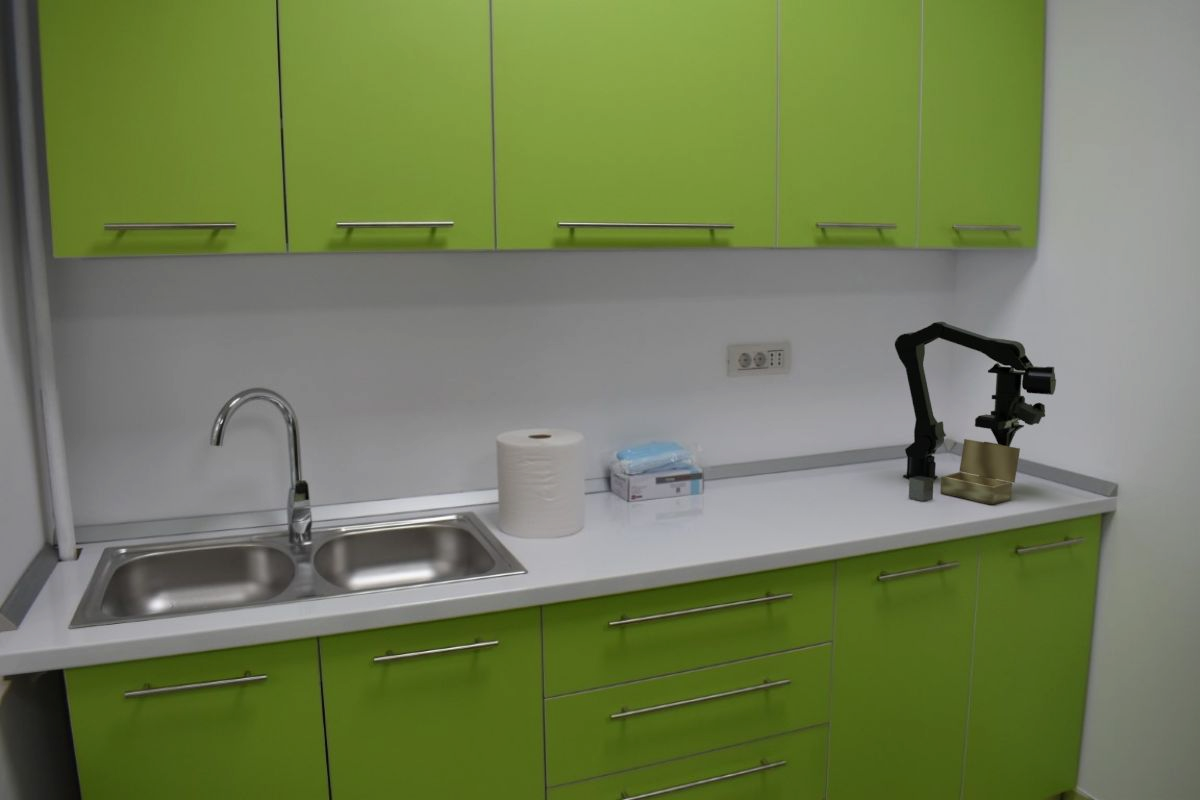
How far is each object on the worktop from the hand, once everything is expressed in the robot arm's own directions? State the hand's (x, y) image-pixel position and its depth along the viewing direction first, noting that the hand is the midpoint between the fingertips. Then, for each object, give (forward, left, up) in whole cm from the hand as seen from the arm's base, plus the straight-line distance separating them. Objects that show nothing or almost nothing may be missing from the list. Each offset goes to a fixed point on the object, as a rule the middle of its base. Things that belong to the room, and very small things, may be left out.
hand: (1004, 452), depth 221 cm
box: (0, -12, -10) cm, 15 cm away
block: (-7, -24, -10) cm, 27 cm away
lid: (0, -7, -1) cm, 7 cm away
